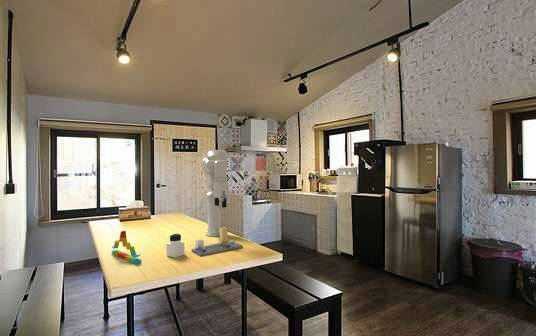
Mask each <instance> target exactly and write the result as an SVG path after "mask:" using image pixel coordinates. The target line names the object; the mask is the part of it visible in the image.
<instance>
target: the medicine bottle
mask: <svg viewBox="0 0 536 336" xmlns="http://www.w3.org/2000/svg"><path fill="white" fill-rule="evenodd" d="M165 249H166V257H171V258H178V257H181V256H184V255H185V253H186V252H185V242H183V241H182V235H181V233H172V234H170V235H169V242H167V243H166V248H165Z"/></svg>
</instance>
